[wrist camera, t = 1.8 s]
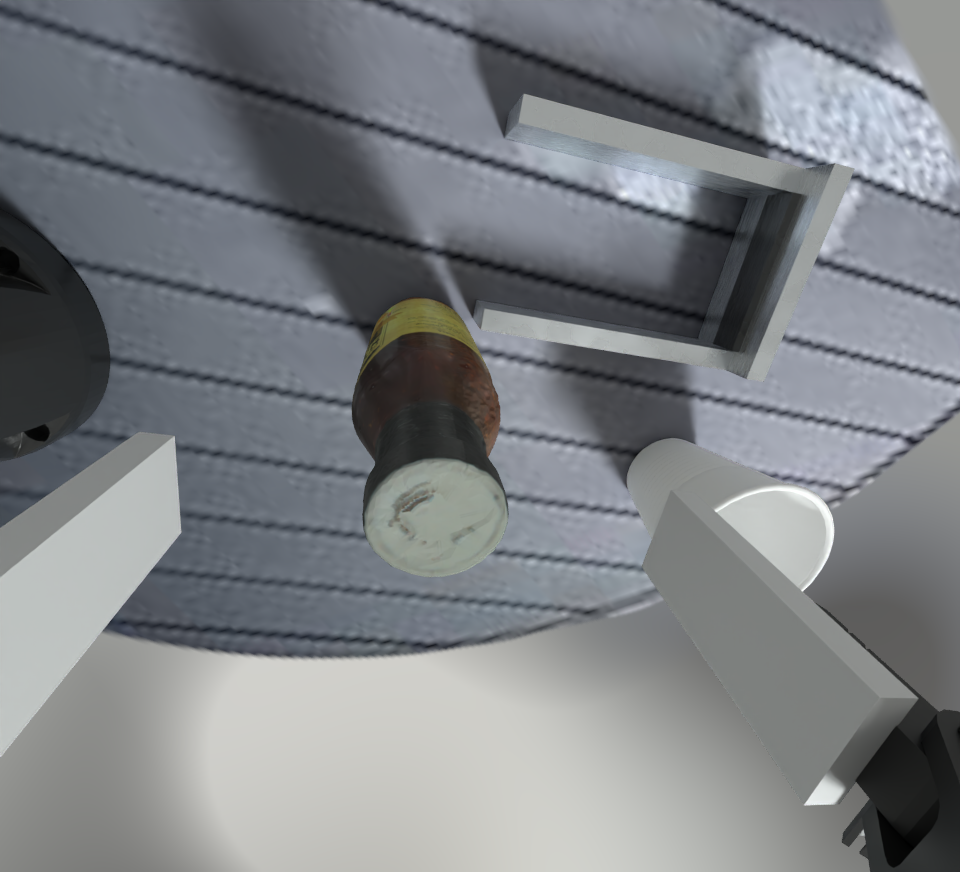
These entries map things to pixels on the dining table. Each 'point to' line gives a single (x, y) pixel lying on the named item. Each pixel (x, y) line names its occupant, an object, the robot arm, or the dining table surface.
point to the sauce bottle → (428, 442)
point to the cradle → (750, 261)
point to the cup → (737, 504)
